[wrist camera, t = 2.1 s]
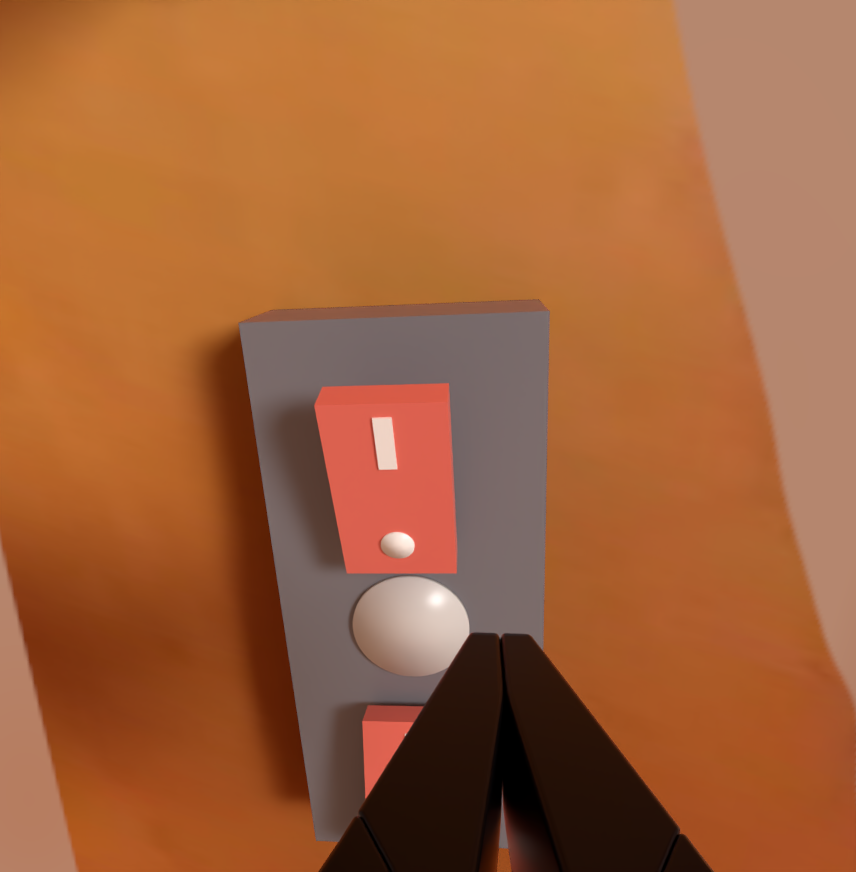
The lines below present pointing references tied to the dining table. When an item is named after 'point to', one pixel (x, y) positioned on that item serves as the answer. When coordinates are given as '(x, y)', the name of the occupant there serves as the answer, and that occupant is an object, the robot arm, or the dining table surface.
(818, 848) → the dining table surface
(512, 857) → the robot arm
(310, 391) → the switch panel
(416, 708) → the switch
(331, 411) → the switch
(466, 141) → the dining table surface
